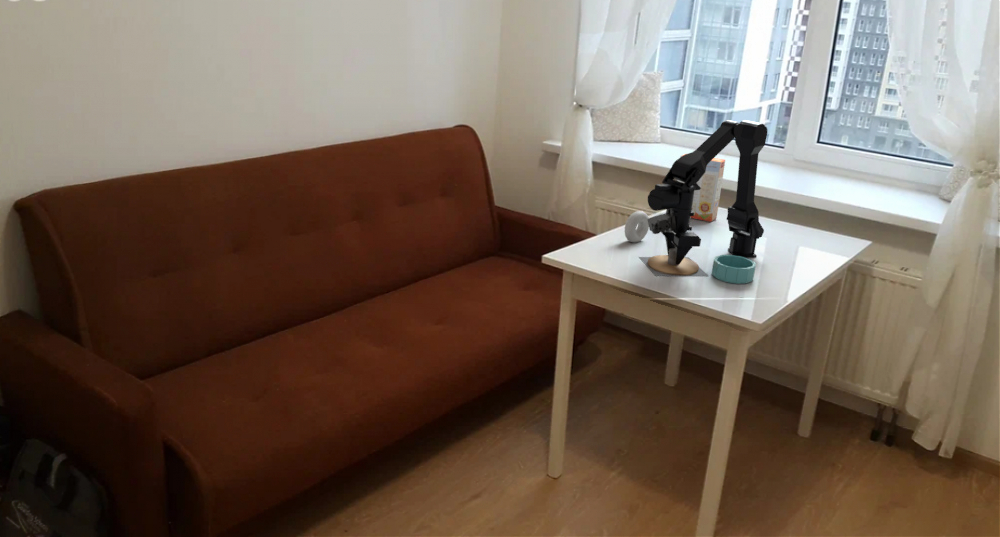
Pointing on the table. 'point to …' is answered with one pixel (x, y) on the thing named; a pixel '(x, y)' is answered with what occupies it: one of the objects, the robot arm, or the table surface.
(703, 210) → the cracker box
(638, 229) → the donut
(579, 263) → the table surface
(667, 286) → the table surface
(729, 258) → the bowl
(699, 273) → the mat
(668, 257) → the lid
